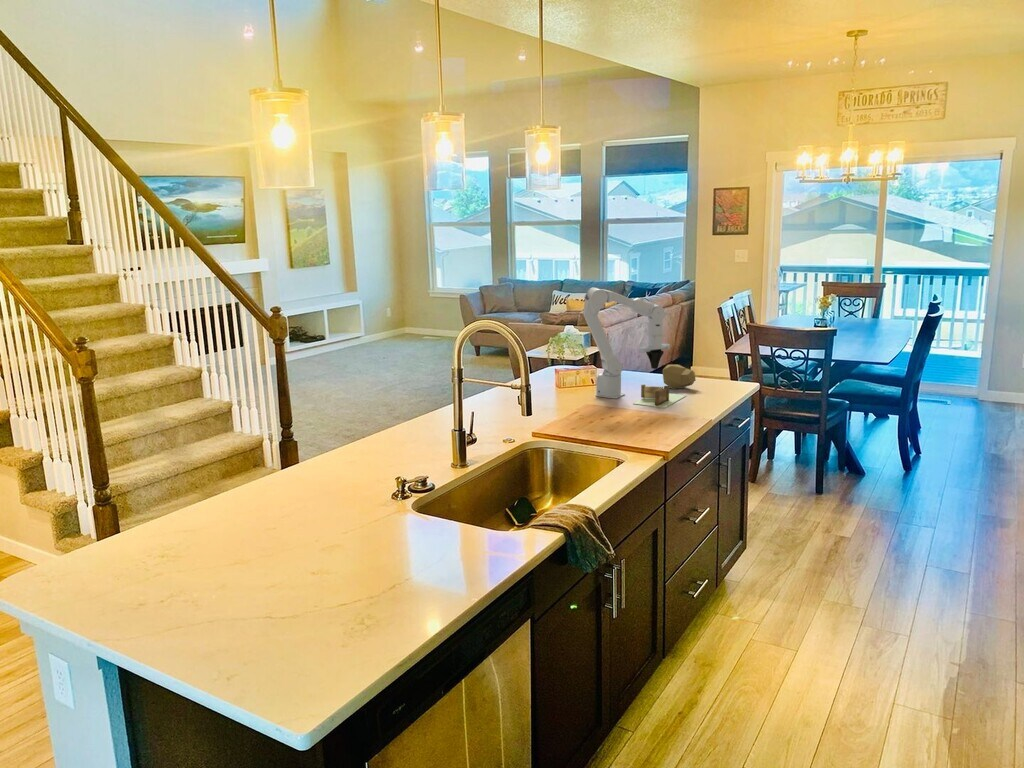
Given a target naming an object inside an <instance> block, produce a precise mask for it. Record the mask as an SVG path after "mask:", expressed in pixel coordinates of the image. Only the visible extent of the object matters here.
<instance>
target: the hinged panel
mask: <svg viewBox="0 0 1024 768" xmlns="http://www.w3.org/2000/svg"><path fill="white" fill-rule="evenodd" d="M640 385H641V386H640V389H641V390H640V398H641V399H643V398H655V391H659V390H661V389H663V388H664V386H652V385H651V386H649V385H646V384H643V383H642V384H640Z"/></svg>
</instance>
